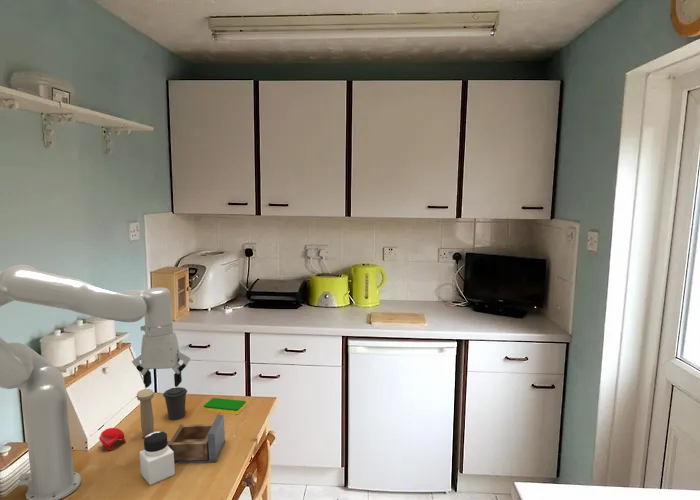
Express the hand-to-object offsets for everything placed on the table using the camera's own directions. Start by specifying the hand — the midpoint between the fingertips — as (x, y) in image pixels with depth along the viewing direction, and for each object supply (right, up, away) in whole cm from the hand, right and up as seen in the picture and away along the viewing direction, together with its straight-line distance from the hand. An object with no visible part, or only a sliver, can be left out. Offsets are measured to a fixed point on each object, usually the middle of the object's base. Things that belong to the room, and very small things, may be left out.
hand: (163, 385), depth 137 cm
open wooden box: (+8, -22, +3) cm, 23 cm away
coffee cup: (-6, -19, +26) cm, 33 cm away
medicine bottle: (+2, -23, -8) cm, 25 cm away
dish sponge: (+10, -19, +32) cm, 38 cm away
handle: (-10, -21, +13) cm, 27 cm away
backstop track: (+6, -22, +3) cm, 23 cm away
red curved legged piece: (-19, -22, +8) cm, 30 cm away
